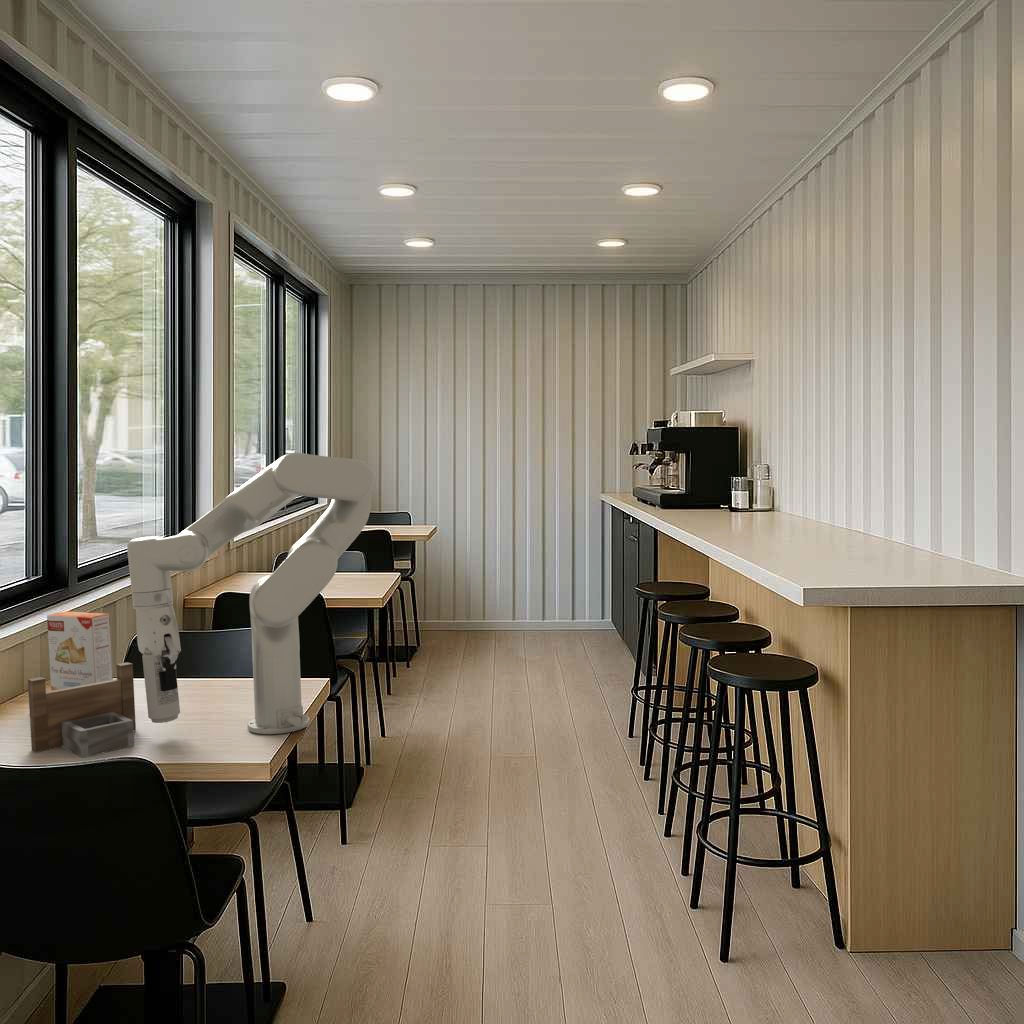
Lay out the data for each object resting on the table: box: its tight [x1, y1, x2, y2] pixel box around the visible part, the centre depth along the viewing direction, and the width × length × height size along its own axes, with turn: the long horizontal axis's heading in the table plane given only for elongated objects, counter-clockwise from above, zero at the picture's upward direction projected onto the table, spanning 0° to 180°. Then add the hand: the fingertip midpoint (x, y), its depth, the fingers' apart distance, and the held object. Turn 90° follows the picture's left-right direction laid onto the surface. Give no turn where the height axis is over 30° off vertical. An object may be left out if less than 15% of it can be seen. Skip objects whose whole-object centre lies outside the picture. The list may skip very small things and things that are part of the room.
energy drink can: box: [141, 648, 181, 724], centre depth 191 cm, size 6×6×15 cm
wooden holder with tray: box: [27, 661, 137, 758], centre depth 188 cm, size 13×20×14 cm, turn 135°
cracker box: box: [46, 610, 114, 691], centre depth 224 cm, size 14×6×21 cm, turn 68°
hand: (161, 686), depth 191 cm, fingers closed on energy drink can, 6 cm apart
